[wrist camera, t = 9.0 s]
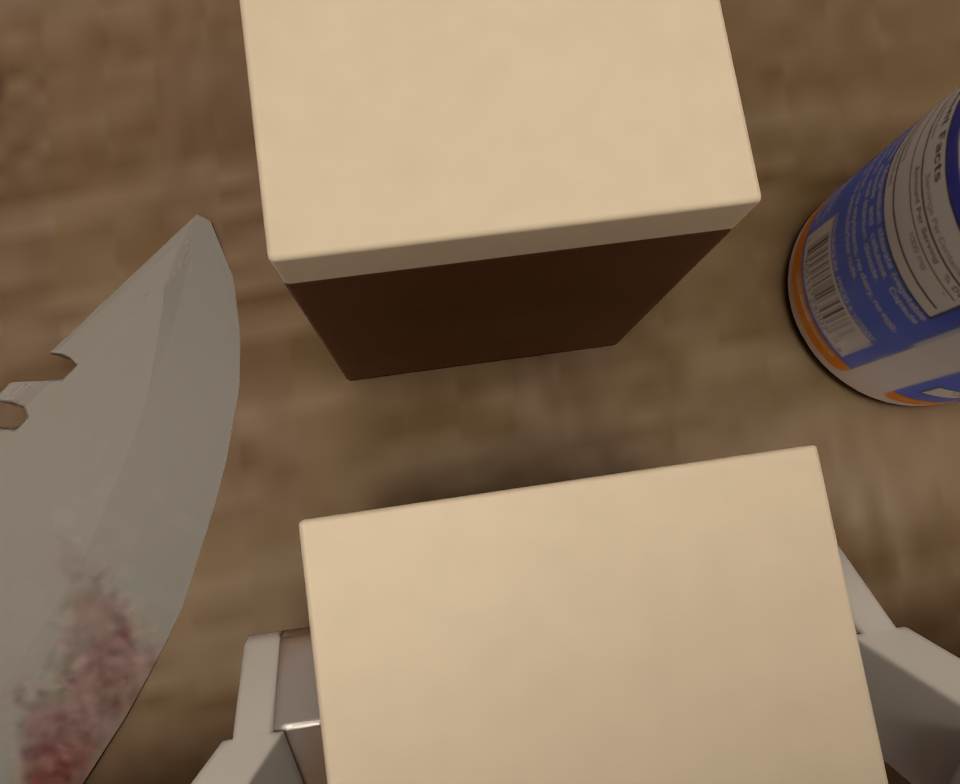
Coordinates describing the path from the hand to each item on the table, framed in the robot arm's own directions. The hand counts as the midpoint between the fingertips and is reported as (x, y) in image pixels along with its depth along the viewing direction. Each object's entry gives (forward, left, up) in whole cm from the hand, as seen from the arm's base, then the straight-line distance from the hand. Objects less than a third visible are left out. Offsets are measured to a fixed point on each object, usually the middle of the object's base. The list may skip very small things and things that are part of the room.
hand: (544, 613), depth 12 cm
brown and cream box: (0, +10, -4) cm, 11 cm away
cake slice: (0, -1, -4) cm, 4 cm away
